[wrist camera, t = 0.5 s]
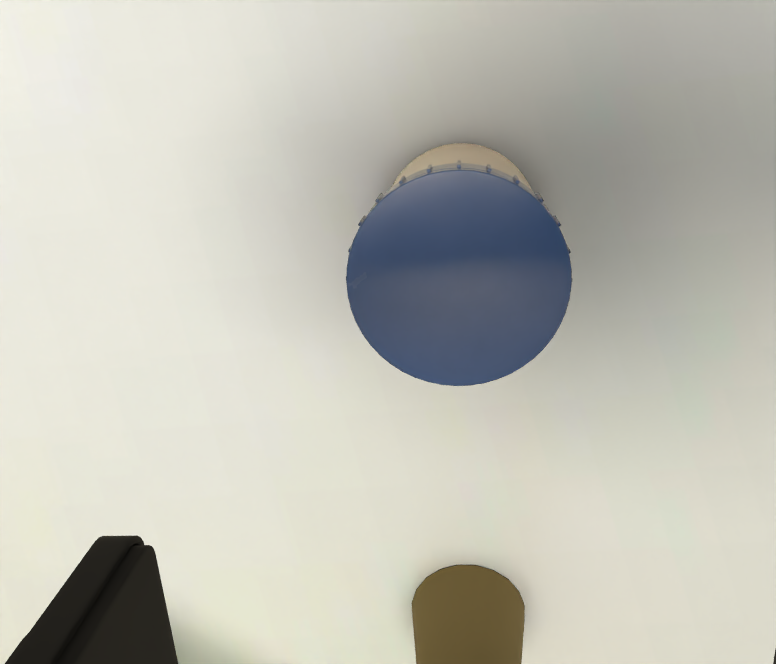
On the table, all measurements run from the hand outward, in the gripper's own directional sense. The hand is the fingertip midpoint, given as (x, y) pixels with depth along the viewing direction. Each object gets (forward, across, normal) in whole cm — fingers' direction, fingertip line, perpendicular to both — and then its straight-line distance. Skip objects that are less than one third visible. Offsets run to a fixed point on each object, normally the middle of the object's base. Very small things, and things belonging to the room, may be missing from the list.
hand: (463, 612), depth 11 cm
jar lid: (+13, 0, -1) cm, 13 cm away
